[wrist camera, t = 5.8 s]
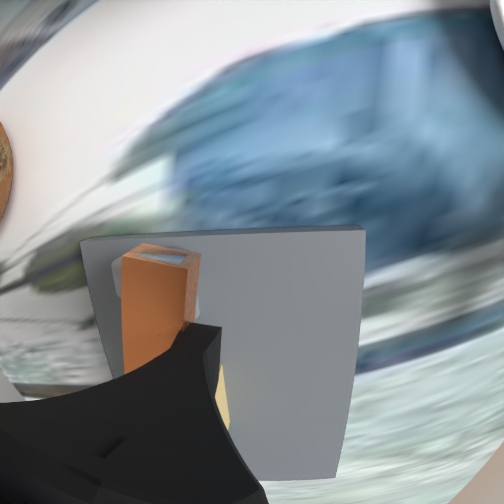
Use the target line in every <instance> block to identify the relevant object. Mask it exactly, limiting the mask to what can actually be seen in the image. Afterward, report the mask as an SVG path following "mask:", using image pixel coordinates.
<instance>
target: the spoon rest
mask: <svg viewBox="0 0 504 504" xmlns="http://www.w3.org/2000/svg"><path fill="white" fill-rule="evenodd" d="M489 1H490V8H491V14H492V19H493V23H494V26H495V29H496V32H497V35H498V38H499V41H500V43H501V45H502V48H503V50H504V0H489Z"/></svg>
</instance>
